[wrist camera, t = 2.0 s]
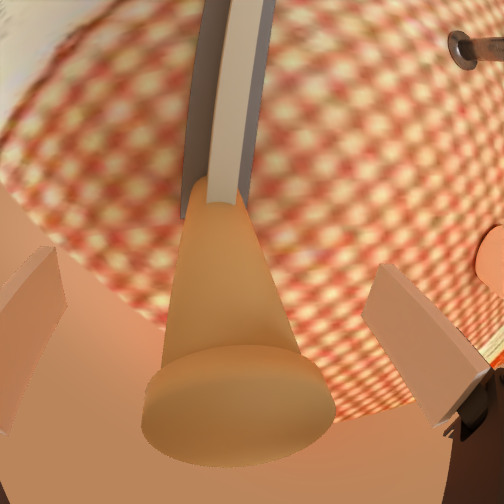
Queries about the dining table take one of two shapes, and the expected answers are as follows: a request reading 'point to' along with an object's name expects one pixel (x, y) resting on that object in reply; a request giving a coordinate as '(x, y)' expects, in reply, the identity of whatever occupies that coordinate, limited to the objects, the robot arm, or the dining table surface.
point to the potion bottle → (492, 260)
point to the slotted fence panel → (230, 311)
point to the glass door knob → (474, 49)
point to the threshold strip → (206, 95)
